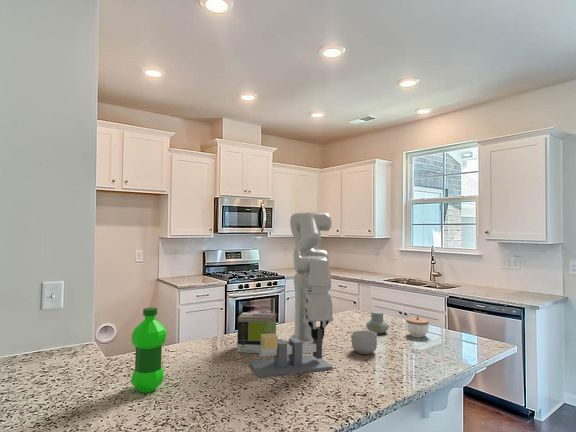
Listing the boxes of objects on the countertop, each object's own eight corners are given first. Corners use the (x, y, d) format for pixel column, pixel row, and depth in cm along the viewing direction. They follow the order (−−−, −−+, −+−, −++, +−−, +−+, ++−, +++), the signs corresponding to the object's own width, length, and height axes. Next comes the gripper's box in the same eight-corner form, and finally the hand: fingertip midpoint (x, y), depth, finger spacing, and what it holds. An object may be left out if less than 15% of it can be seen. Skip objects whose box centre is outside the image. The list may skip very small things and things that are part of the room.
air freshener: (390, 332, 194) (390, 312, 194) (385, 335, 187) (385, 315, 187) (369, 328, 199) (369, 309, 200) (363, 332, 192) (364, 312, 193)
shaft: (257, 360, 140) (258, 330, 140) (317, 354, 148) (318, 326, 148) (260, 364, 136) (261, 333, 137) (321, 358, 144) (322, 329, 145)
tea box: (275, 347, 165) (276, 312, 165) (272, 354, 155) (273, 318, 155) (241, 345, 166) (242, 311, 167) (236, 352, 156) (237, 316, 157)
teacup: (370, 358, 153) (370, 338, 154) (346, 352, 160) (346, 333, 160) (383, 350, 164) (384, 331, 165) (361, 344, 171) (361, 326, 171)
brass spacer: (260, 345, 141) (260, 334, 141) (273, 344, 143) (273, 333, 143) (264, 349, 136) (264, 337, 136) (277, 348, 138) (277, 336, 138)
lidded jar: (406, 337, 185) (406, 317, 185) (405, 331, 195) (406, 313, 195) (429, 339, 181) (429, 320, 182) (428, 334, 192) (428, 315, 192)
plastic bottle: (152, 379, 127) (155, 304, 128) (171, 388, 120) (173, 309, 121) (123, 389, 119) (126, 308, 120) (141, 399, 112) (144, 314, 113)
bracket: (249, 363, 144) (249, 338, 144) (316, 356, 153) (317, 333, 154) (258, 377, 131) (259, 349, 131) (332, 369, 140) (332, 343, 141)
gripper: (303, 292, 141) (302, 342, 140) (341, 291, 146) (340, 339, 145) (295, 289, 148) (294, 337, 147) (332, 288, 153) (332, 334, 152)
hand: (317, 338), depth 146 cm, fingers closed on shaft, 2 cm apart
